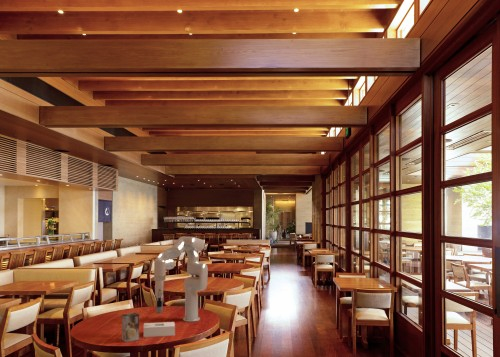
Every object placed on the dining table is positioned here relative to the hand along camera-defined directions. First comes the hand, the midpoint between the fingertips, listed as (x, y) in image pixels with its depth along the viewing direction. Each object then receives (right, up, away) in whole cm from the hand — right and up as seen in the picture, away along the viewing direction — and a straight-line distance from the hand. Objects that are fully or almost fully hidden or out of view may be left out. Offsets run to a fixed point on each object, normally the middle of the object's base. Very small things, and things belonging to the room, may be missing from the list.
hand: (159, 305), depth 317 cm
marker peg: (0, -4, 0) cm, 4 cm away
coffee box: (-15, -18, -15) cm, 28 cm away
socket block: (0, -18, -1) cm, 18 cm away
